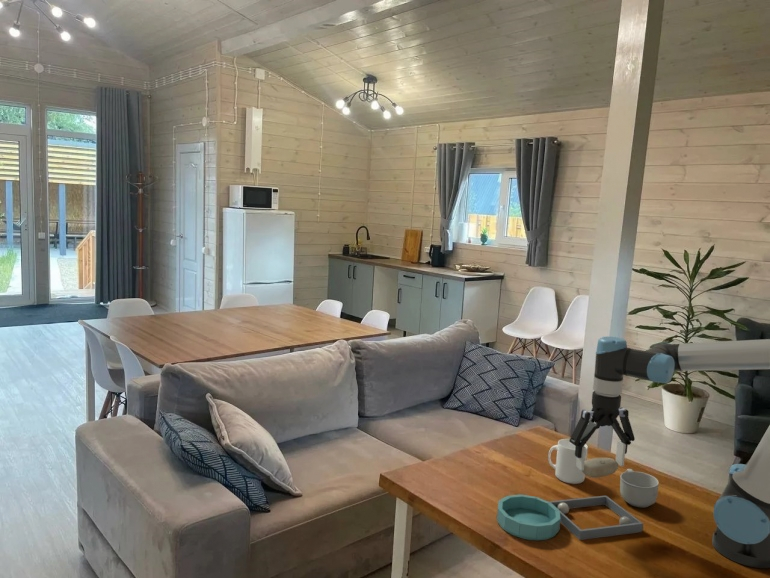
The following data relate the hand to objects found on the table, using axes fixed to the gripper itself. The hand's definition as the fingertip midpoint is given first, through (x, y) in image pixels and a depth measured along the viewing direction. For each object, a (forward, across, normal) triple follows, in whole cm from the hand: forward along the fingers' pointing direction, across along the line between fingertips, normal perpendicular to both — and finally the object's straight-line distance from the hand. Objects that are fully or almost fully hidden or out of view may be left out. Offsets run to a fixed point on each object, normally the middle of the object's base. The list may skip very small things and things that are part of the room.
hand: (599, 466), depth 166 cm
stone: (+3, 0, 0) cm, 3 cm away
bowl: (+16, +20, -2) cm, 26 cm away
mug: (+16, -8, -26) cm, 32 cm away
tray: (+16, 0, 0) cm, 16 cm away
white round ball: (+16, +7, -6) cm, 18 cm away
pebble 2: (+16, -6, +5) cm, 18 cm away
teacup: (+17, -21, -8) cm, 28 cm away
